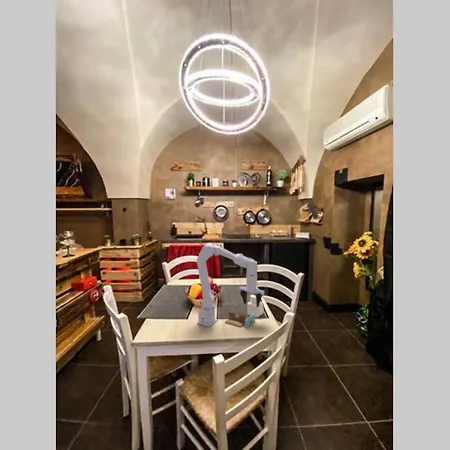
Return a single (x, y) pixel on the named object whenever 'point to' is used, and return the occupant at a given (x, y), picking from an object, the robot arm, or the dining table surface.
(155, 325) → the dining table surface
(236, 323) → the joint base
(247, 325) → the teal block
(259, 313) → the medicine bottle
